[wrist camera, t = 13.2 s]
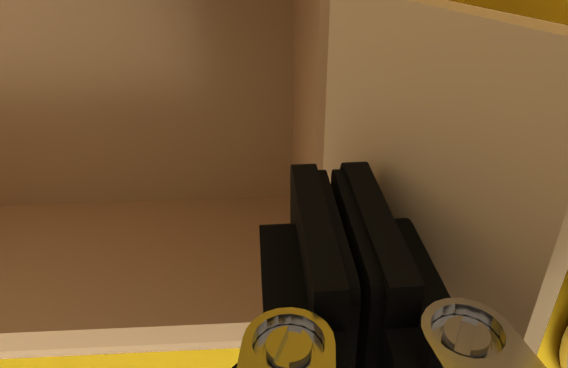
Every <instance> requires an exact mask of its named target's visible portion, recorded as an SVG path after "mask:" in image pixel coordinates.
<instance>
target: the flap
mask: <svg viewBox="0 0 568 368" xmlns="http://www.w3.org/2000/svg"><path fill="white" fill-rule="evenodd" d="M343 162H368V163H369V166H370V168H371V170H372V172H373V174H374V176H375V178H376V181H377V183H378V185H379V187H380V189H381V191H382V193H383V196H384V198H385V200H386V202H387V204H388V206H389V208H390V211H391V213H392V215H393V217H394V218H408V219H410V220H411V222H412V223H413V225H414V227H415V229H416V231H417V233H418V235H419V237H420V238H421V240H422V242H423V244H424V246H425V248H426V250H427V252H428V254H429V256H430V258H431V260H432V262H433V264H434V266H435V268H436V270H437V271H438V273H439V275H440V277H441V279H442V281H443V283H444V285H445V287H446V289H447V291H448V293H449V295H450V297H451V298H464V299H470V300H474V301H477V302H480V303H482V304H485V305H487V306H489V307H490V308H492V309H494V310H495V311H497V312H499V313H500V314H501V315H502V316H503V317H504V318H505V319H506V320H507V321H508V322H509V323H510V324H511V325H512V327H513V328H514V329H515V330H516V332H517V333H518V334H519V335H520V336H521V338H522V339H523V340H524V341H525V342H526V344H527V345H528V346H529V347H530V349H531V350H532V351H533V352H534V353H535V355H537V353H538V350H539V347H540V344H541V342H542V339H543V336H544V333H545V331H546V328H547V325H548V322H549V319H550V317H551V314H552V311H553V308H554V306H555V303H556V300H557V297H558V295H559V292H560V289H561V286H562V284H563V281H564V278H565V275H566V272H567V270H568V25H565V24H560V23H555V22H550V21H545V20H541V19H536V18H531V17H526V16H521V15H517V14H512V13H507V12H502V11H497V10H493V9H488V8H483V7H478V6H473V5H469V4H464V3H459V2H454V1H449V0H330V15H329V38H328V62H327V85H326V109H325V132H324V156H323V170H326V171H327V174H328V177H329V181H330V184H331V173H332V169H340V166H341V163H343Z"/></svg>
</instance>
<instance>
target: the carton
mask: <svg viewBox="0 0 568 368" xmlns="http://www.w3.org/2000/svg"><path fill="white" fill-rule="evenodd" d="M329 15H330V0H0V359H10V358H31V357H53V356H75V355H96V354H118V353H139V352H161V351H183V350H204V349H226V348H241V343H242V338H243V335H244V333H245V330H246V328H247V326H248V325H249V324H250V323H251V322H252V321H253V320H254V319H255V318H256V317H258V316H259V315H261V314H263V303H262V282H261V259H260V235H259V225H268V224H288V223H290V167H291V165H293V164H316V165H317V168H318V170H323V156H324V132H325V109H326V85H327V62H328V38H329Z"/></svg>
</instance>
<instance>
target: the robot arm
mask: <svg viewBox="0 0 568 368" xmlns="http://www.w3.org/2000/svg"><path fill="white" fill-rule="evenodd" d="M259 235H260V259H261V282H262V303H263V314H261V315H259V316H258V317H256V318H255V319H254V320H253V321H252V322H251V323H250V324H249V325H248V326H247V328H246V330H245V333H244V335H243V338H242V343H241V348H240V353H239V358H238V363H237V364H236V365H235V366H233V367H232V368H546V367H545V365H544V364H543V363H542V362H541V361H540V359H539V358H538V357H537V356H536V355H535V353H534V352H533V351H532V350H531V349H530V347H529V346H528V345H527V344H526V342H525V341H524V340H523V339H522V338H521V336H520V335H519V334H518V333H517V332H516V330H515V329H514V328H513V327H512V325H511V324H510V323H509V322H508V321H507V320H506V319H505V318H504V317H503V316H502V315H501V314H500V313H499V312H497V311H495V310H494V309H492V308H490V307H489V306H487V305H485V304H482V303H480V302H477V301H474V300H470V299H464V298H451V297H450V295H449V293H448V291H447V289H446V287H445V285H444V283H443V281H442V279H441V277H440V275H439V273H438V271H437V270H436V268H435V266H434V264H433V262H432V260H431V258H430V256H429V254H428V252H427V250H426V248H425V246H424V244H423V242H422V240H421V238H420V237H419V235H418V233H417V231H416V229H415V227H414V225H413V223H412V222H411V220H410V219H408V218H394V217H393V215H392V213H391V211H390V208H389V206H388V204H387V202H386V200H385V198H384V196H383V193H382V191H381V189H380V187H379V185H378V183H377V181H376V178H375V176H374V174H373V172H372V170H371V168H370V166H369V163H368V162H343V163H341V166H340V169H332V173H331V184H330V181H329V177H328V174H327V171H326V170H318V168H317V165H316V164H293V165H291V167H290V223H288V224H268V225H259ZM559 357H560V366H561V368H568V326H567V328H566V330H565V333H564V335H563V337H562V340H561V346H560V351H559Z"/></svg>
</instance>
